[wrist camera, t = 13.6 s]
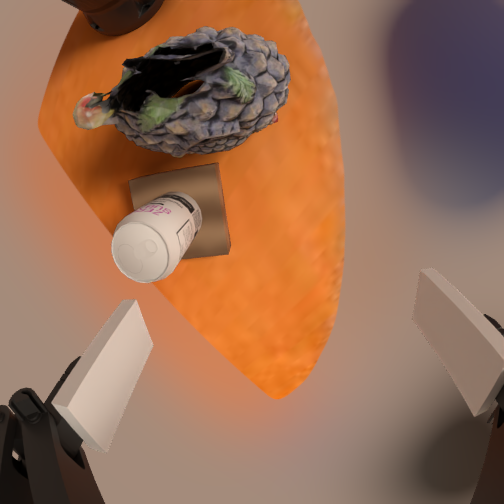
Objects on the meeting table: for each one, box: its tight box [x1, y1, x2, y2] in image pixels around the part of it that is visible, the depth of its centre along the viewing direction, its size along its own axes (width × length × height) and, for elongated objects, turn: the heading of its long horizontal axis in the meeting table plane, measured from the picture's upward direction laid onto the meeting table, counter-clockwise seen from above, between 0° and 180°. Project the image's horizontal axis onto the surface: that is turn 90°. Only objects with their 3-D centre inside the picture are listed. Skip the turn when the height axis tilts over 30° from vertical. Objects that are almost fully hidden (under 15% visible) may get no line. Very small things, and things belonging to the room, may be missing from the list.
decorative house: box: [73, 26, 291, 158], centre depth 28 cm, size 21×15×25 cm
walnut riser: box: [128, 163, 231, 259], centre depth 44 cm, size 14×14×4 cm
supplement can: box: [112, 192, 202, 283], centre depth 35 cm, size 8×8×15 cm
